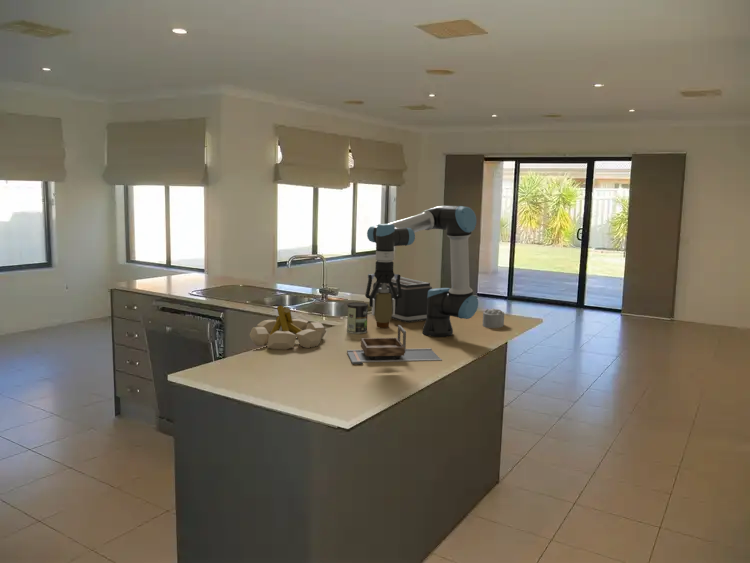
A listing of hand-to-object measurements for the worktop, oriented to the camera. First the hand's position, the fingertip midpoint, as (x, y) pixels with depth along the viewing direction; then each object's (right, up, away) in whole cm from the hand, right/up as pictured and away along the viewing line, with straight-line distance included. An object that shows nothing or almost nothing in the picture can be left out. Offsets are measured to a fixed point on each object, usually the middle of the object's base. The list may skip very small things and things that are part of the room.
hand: (383, 314), depth 265 cm
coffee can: (-12, -12, +50) cm, 53 cm away
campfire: (-44, -15, +28) cm, 54 cm away
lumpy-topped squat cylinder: (+60, -10, +71) cm, 94 cm away
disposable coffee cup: (+1, -10, +62) cm, 63 cm away
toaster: (+11, -6, +91) cm, 92 cm away
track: (+5, -19, +4) cm, 20 cm away
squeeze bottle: (0, -3, +1) cm, 3 cm away
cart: (0, -18, +3) cm, 18 cm away
